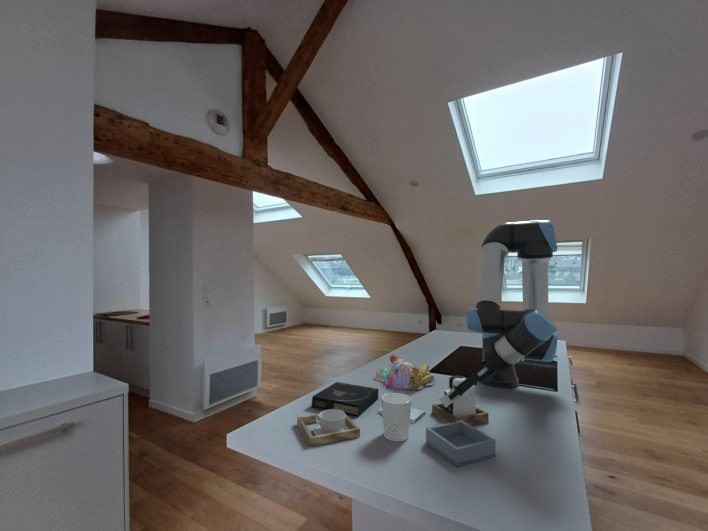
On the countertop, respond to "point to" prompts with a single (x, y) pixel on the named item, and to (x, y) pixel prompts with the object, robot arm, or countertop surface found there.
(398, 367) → the candy landscape model
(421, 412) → the hard drive
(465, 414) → the medicine bottle
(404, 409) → the white cup
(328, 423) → the teacup
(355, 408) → the portable cd player
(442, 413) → the walnut holder
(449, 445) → the grey tray
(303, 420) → the oak cup rest
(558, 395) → the countertop surface
